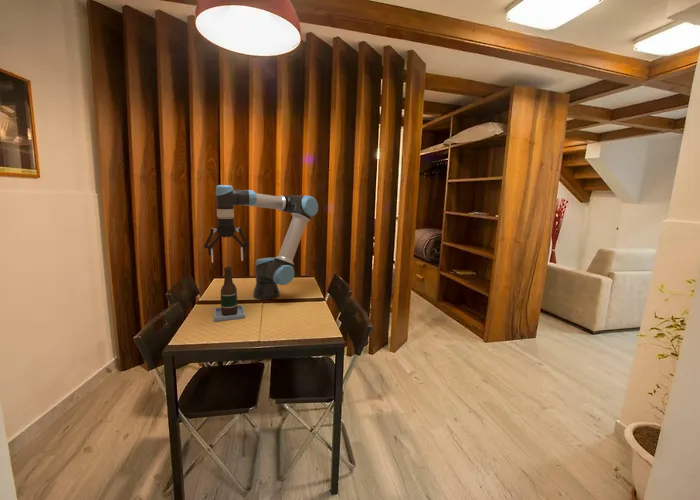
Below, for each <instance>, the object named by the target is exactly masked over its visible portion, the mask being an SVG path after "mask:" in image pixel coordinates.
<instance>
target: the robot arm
mask: <svg viewBox="0 0 700 500" xmlns="http://www.w3.org/2000/svg"><path fill="white" fill-rule="evenodd" d="M215 199H216V217H217V227H216V228H213V227H211V228H210V232H209V235H208V237H207V239H206V241H205V243H204V244H203V248H204V249H208V251H207V253H208V255H209V256H210V257H211V263H212V264H213V263H214V248H213V247H214V245H215V244H216V243H217V242H218V241H219V239H220V238H231V237H232V238H233V239H234V240H235V241H236V242H237V243H238V244H239V245H240V246H241V247H240V259H241V262H243V261H244V254H246V247H249V246H250V244H249V242H248V240H247V239H246V237H245V235H244V234H243V232H242V228H241V227H235V213H234V212H235V211H234V210H235V209H234V208H235V207H234V206H246V207H255V208H262V209H271V210H277V211H279V212H283V213H284V212H285V213H288V214H290V215H291V216H292V219H291V221H290V224H289V227H288V228H287V231H286V234H285V237H284V240H283V243H282V245H281V248H280V250H279V253H278V255H277V256H275V257H262V258H258V259H256V260H255V286H254V288H253V289H254V290H253V294H252V295H253V296H252V297H254V298H255V299H257V300H272V299H275V298H278V297H279V296H280V290H279V287H278V285H280V286H281V285H282V286H286V285H288V284H290V283H291V282H292V281H293V279H295V278H294V277H295V272H296V271H295V269H294V266H295V263H294V261H293V260H294V258H295V255H296V253H297V249H298V247H299V245H300V242H301V239H302V236H303V233H304V231H305V228H306V226H307V223H309V222H310V221H311V219H312V217H314V216H316V215H317V214H318V211H319V204H318V201H317V199H316V198H315V197H313V196H311V195H308V194H307V195H297V194H295V195H293V194H292V195H284V194H281V195H272V194H264V193H256V192H255V191H254V189H253V190H252V189H251V190H250V189H234V187H233V186H232V185H226V184H225V185H224V184H218V185H216V186H215ZM216 232H217V233H218V234H217V236H216V237H215V238H214V240H212V241H211V239H212V238H213V235H214V234H215V233H216ZM236 232H237V233H239V235H240V237H241V239H242V240H243V242H244V243H243V242H242V241H241V240H240V239H239V238H238V237H237V236H236V235H235V233H236Z"/></svg>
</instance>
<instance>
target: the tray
mask: <svg viewBox="0 0 700 500" xmlns="http://www.w3.org/2000/svg"><path fill="white" fill-rule="evenodd" d="M213 310H214V311H213V312H214V313H213V317H214V318H213V320H214V322H217V323H218V322H223V321H224V322H226V321H233V320H241V319H246V312H245V308H244V305H243V304H239V305H238V304H237V314H236V315H230V316H223V315H222V312H221V306H220V307H214V308H213Z"/></svg>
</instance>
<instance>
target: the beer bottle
mask: <svg viewBox="0 0 700 500" xmlns="http://www.w3.org/2000/svg"><path fill="white" fill-rule="evenodd" d="M232 270H233V268H232V267H230V266H228V267H227V266H226V267H224V268H223V271H224V277H223V278H224V279H223V281H224V282H223V284H222V286H221V288H220V307H221V312H222V315H223V316H230V315H236V314H237V306H238V291H237V289H238V288H237V287H236V285H235V283H234V282H233V276H232V275H233V274H232V273H233V272H232Z"/></svg>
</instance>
